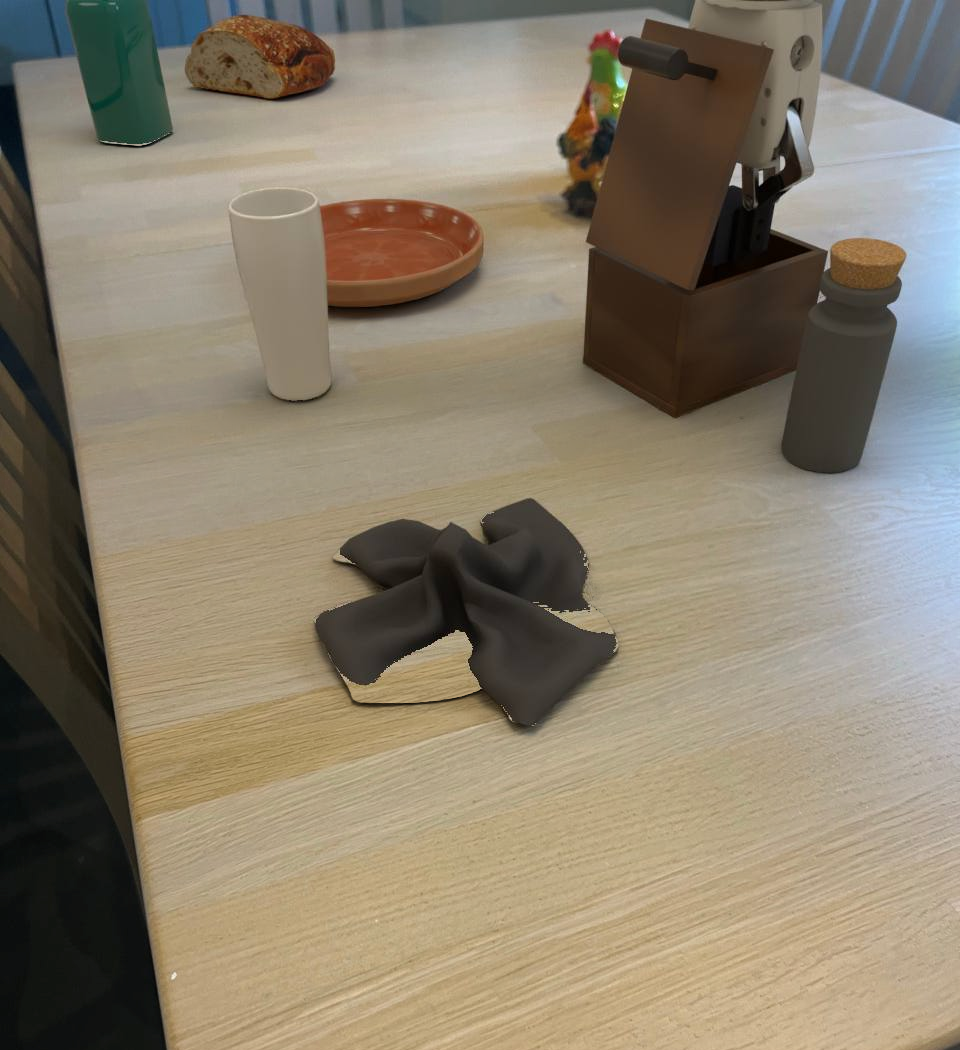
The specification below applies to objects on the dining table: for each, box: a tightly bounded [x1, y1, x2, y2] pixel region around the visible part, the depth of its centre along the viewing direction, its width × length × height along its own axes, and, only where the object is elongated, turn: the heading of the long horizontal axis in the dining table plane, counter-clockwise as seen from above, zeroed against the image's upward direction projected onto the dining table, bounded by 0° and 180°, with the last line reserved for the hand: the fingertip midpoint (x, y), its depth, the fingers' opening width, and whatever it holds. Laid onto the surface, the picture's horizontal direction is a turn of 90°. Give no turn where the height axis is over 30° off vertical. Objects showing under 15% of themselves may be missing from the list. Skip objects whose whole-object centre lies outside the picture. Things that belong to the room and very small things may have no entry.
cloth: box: [314, 497, 617, 727], centre depth 61 cm, size 22×19×6 cm
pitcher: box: [64, 0, 174, 144], centre depth 132 cm, size 10×8×22 cm
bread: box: [184, 14, 336, 99], centre depth 156 cm, size 20×18×10 cm
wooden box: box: [582, 228, 829, 418], centre depth 83 cm, size 15×12×10 cm
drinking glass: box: [227, 186, 333, 402], centre depth 79 cm, size 7×7×15 cm
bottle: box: [780, 237, 907, 474], centre depth 70 cm, size 6×6×15 cm
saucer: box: [319, 198, 485, 308], centre depth 101 cm, size 23×23×4 cm
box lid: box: [585, 18, 774, 290], centre depth 71 cm, size 15×12×6 cm
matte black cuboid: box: [704, 184, 776, 267], centre depth 79 cm, size 6×5×4 cm
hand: (720, 244), depth 80 cm, fingers closed on matte black cuboid, 4 cm apart
